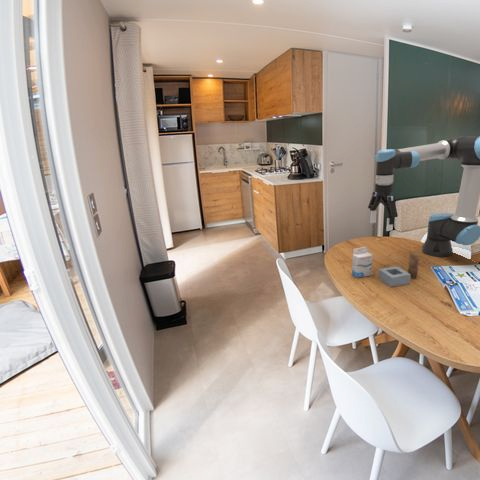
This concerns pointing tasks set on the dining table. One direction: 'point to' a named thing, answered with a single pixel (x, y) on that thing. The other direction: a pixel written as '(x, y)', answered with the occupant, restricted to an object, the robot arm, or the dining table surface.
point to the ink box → (361, 262)
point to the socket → (394, 276)
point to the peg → (413, 265)
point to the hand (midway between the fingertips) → (380, 226)
